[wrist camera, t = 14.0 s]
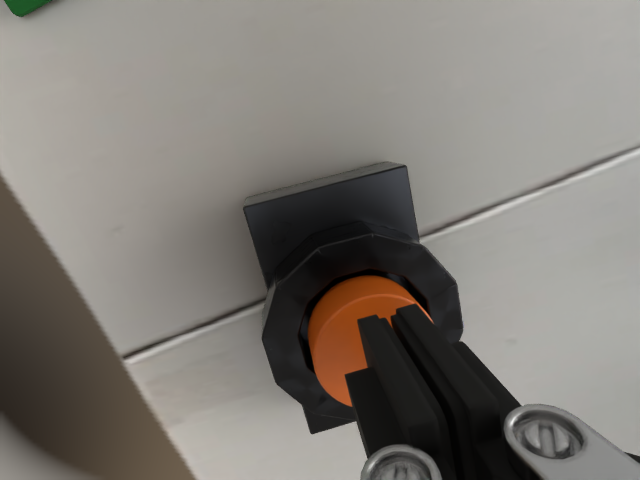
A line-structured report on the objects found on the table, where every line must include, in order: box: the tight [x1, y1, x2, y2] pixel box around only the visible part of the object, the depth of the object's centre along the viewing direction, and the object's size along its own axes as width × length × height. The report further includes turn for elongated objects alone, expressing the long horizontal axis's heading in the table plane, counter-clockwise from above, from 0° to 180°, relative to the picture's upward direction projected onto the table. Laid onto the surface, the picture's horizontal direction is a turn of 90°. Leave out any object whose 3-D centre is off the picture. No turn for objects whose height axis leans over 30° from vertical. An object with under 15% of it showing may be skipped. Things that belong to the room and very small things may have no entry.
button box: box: [243, 162, 463, 434], centre depth 15 cm, size 10×7×4 cm
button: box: [308, 275, 434, 407], centre depth 13 cm, size 4×4×2 cm
